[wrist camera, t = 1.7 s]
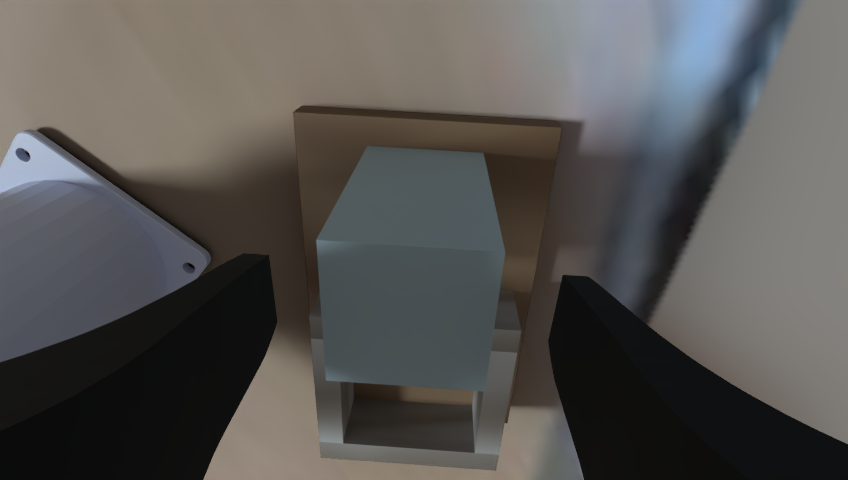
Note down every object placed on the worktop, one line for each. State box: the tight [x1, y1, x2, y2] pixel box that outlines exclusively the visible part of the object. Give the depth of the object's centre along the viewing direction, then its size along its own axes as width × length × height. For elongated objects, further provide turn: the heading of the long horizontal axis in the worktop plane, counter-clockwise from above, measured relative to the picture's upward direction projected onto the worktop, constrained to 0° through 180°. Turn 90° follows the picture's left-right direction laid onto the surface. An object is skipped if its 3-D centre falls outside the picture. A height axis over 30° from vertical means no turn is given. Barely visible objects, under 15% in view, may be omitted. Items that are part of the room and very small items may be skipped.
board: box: [293, 106, 562, 470], centre depth 18 cm, size 14×9×4 cm, turn 177°
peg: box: [316, 146, 505, 392], centre depth 14 cm, size 4×4×7 cm
